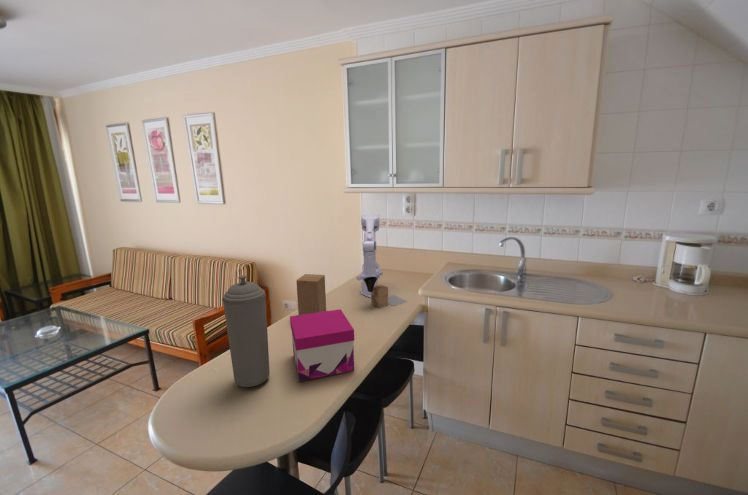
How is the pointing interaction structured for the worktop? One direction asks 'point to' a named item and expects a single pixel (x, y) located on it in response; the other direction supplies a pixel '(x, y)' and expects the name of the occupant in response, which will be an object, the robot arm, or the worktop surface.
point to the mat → (395, 300)
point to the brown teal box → (379, 296)
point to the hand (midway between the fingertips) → (370, 291)
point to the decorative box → (322, 344)
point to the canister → (247, 332)
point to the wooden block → (311, 294)
